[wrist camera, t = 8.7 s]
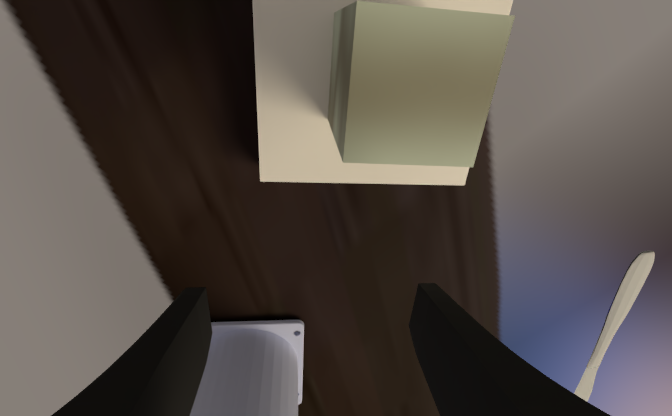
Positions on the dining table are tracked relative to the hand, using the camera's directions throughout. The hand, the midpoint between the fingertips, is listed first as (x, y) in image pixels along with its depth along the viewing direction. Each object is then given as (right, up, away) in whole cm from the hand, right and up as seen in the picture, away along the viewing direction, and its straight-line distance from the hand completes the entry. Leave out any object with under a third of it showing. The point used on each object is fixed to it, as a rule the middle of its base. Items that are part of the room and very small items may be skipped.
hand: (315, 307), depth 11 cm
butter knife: (+25, -11, +20) cm, 34 cm away
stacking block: (+3, +10, +4) cm, 11 cm away
